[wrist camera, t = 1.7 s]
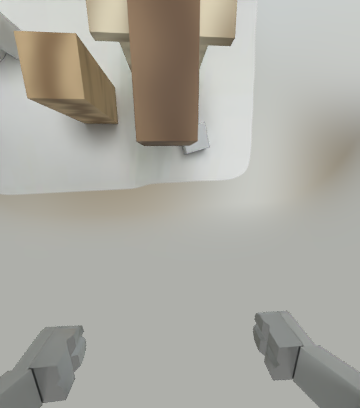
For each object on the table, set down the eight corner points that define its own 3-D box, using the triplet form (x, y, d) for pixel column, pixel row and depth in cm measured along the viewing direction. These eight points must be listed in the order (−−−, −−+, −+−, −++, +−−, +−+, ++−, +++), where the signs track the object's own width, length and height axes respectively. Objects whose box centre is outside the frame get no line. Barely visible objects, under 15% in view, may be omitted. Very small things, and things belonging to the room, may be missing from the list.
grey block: (184, 154, 41) (187, 153, 36) (178, 132, 39) (180, 128, 34) (204, 148, 41) (210, 146, 36) (200, 126, 39) (204, 121, 34)
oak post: (85, 123, 37) (27, 98, 22) (79, 86, 35) (13, 30, 20) (118, 123, 38) (84, 99, 22) (114, 87, 36) (75, 33, 21)
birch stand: (140, 116, 38) (89, 31, 13) (137, 62, 35) (65, -176, 10) (190, 116, 39) (234, 37, 13) (190, 64, 36) (246, -154, 11)
